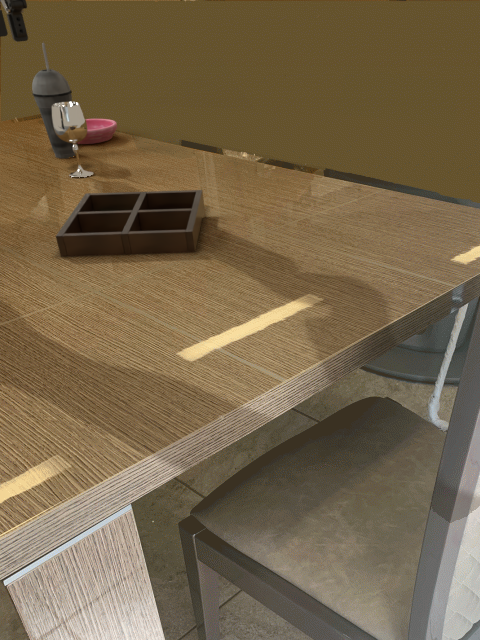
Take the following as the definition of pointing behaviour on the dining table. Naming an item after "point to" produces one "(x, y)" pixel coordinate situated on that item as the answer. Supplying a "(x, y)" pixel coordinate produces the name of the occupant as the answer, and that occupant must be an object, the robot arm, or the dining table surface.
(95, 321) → the dining table surface
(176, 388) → the dining table surface
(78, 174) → the wineglass
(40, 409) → the dining table surface
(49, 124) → the beverage cup
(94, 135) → the pink round shallow bowl
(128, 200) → the tray
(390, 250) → the dining table surface
